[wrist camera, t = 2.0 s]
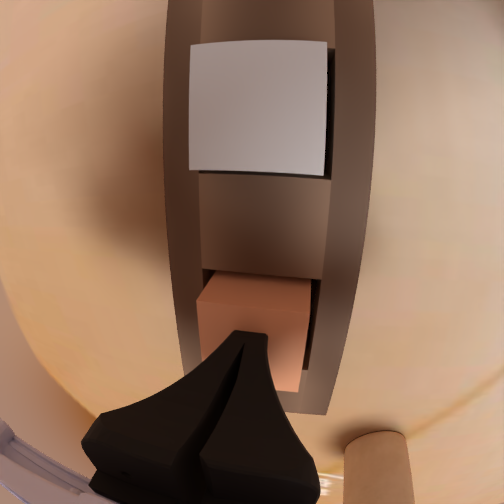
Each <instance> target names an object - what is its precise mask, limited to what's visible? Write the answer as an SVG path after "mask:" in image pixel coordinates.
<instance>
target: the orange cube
mask: <svg viewBox="0 0 504 504" xmlns="http://www.w3.org/2000/svg"><path fill="white" fill-rule="evenodd" d="M310 300H311V279H309V278H297V277H286V276H275V275H264V274H253V273H243V272H233V271H222V270H216V272H215V273H214V275H213V276H212V278H211V279H210V281H209V282H208V284H207V285H206V287H205V288H204V290H203V291H202V293H201V294H200V296H199V297H198V299H197V300H196V303H197V315H198V327H199V337H200V348H201V357H202V362H203V361H204V360H205V359H206V358H207V357H208V356H209V355H210V354H211V353H212V352H213V351H214V350H216V349H217V348H218V346H219V345H220V344H221V343H222V342H223V341H224V340H225V339H226V338H227V337H228V336H229V335H230V333H231V332H232V331H234V330H240V331H248V332H257V333H266V334H267V335H268V350H267V353H268V361H269V366H270V371H271V376H272V379H273V383H274V386H275V389H276V390H279V391H288V392H298V389H299V383H300V377H301V371H302V365H303V359H304V352H305V346H306V339H307V332H308V325H309V317H310Z"/></svg>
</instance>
